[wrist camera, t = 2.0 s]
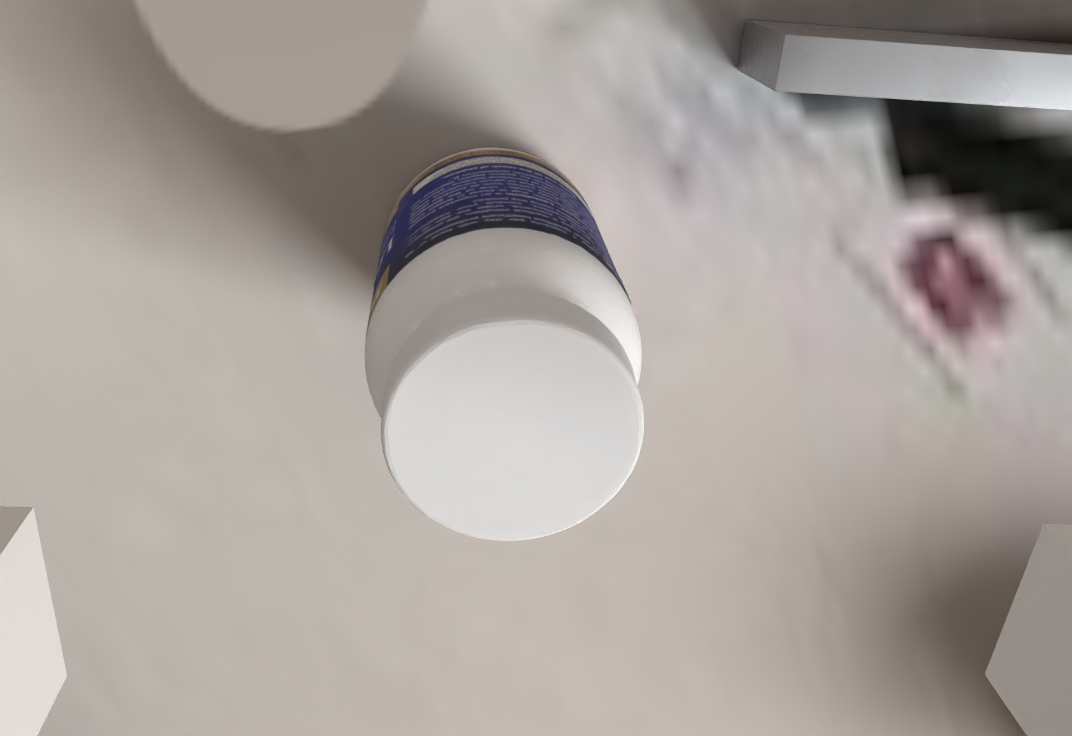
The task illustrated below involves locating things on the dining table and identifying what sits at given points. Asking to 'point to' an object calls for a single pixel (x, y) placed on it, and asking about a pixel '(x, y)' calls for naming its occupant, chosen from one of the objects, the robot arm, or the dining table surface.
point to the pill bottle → (502, 350)
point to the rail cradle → (907, 65)
